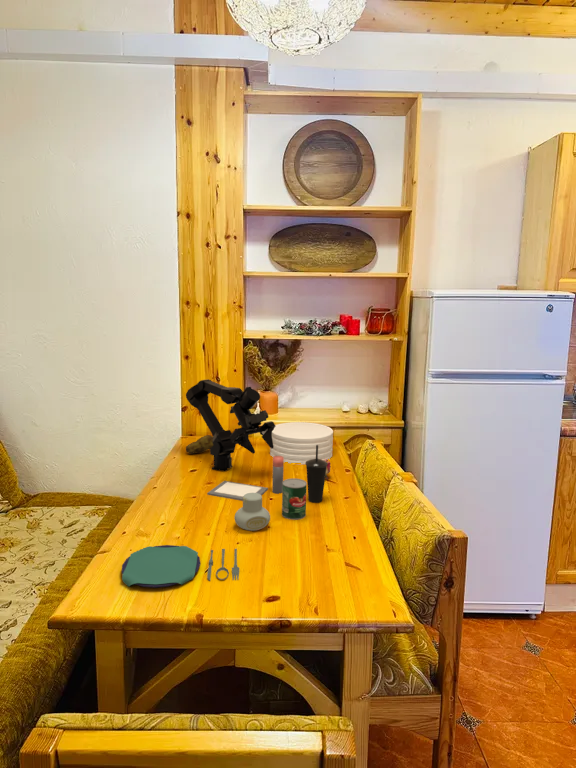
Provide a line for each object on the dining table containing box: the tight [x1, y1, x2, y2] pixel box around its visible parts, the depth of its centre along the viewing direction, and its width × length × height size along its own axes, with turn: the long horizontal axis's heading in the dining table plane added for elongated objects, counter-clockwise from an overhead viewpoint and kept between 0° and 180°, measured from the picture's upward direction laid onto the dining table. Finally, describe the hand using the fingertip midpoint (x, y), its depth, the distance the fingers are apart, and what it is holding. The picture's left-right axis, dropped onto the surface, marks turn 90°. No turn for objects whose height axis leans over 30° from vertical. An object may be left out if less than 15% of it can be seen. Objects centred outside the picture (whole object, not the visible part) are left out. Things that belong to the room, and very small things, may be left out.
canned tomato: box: [281, 478, 308, 521], centre depth 164 cm, size 8×8×11 cm
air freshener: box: [234, 493, 271, 532], centre depth 155 cm, size 11×8×10 cm
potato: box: [185, 434, 213, 455], centre depth 225 cm, size 8×13×8 cm, turn 91°
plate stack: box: [269, 421, 334, 465], centre depth 226 cm, size 28×28×12 cm
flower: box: [323, 459, 332, 480], centre depth 197 cm, size 10×9×8 cm
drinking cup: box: [304, 445, 328, 504], centre depth 175 cm, size 8×8×20 cm
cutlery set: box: [121, 544, 240, 589], centre depth 131 cm, size 20×30×2 cm, turn 96°
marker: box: [272, 456, 285, 495], centre depth 183 cm, size 4×4×13 cm
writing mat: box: [206, 480, 269, 502], centre depth 182 cm, size 18×13×1 cm
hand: (263, 450), depth 187 cm, fingers open, 9 cm apart
